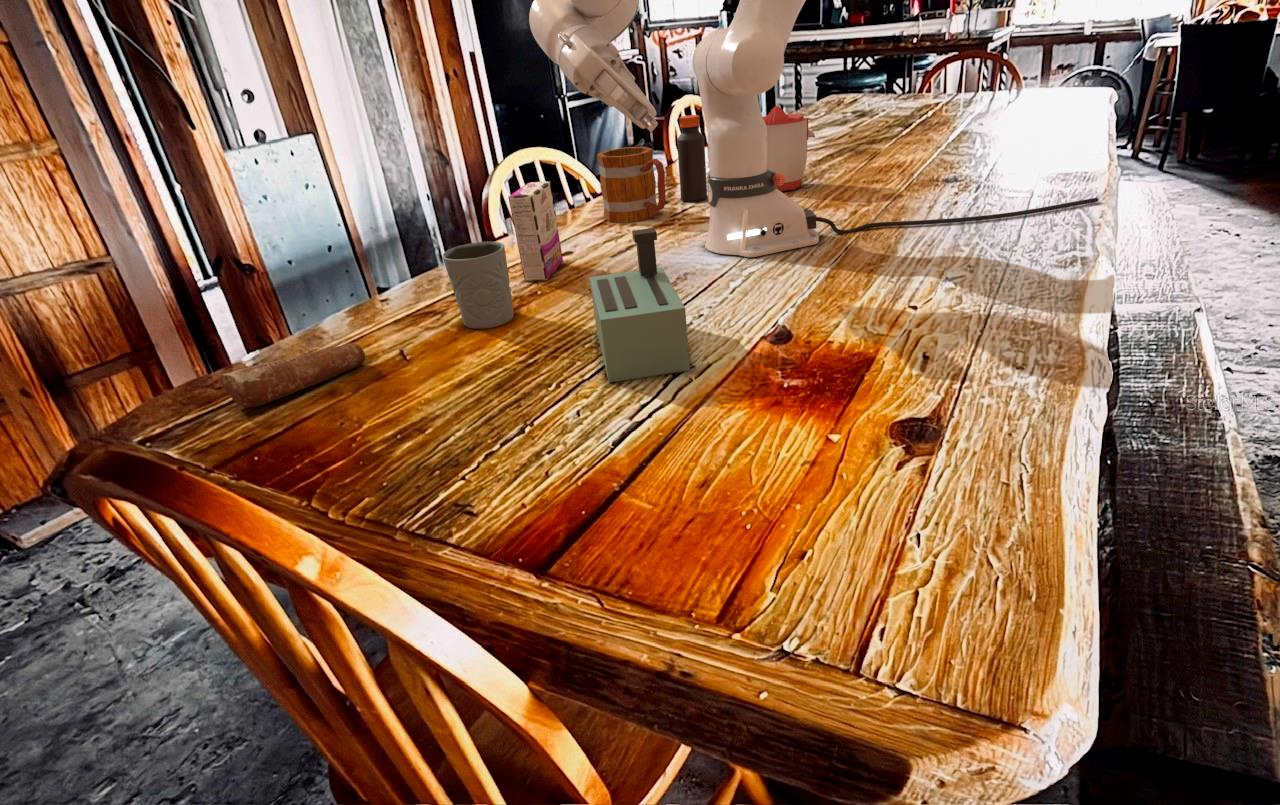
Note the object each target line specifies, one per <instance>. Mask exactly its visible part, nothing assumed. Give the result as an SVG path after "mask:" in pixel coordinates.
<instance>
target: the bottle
mask: <svg viewBox="0 0 1280 805" xmlns="http://www.w3.org/2000/svg"><path fill="white" fill-rule="evenodd" d="M700 121H701V120H700V115H699V114H690V115H689V114H688V115H682V116H680V117H679V129H680V130H681V133H680V134H679V136H678V137H677V140H676V142H677V143H676V145H677V146H676V147H677V159H678V160H677V161H678V171H679V172H678V173H679V174H678V175H679V188H680V199H681V201H682V202H686V203H695V202H701V201H705V200H706V199H708V187H707V183H708V182H707V166H706V147H705V146H706V145H705V136H704V134H702V133H701V132H700V129H699V128H700V126H701V122H700Z"/></svg>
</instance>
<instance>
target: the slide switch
mask: <svg viewBox="0 0 1280 805" xmlns="http://www.w3.org/2000/svg"><path fill="white" fill-rule="evenodd" d="M657 233H658V231H657V230H656V229H655V227H650V228H642V229H634V230H632V231H631V234H632V240H633V242H634V244H635V246H636V254H637V265H638V270H639V273H640V275H641V276H646V275H653V274H657V268H658V267H657V266H658V265H657V256H656V254H657V253H656V243H655V241H658V234H657Z"/></svg>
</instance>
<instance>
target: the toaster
mask: <svg viewBox="0 0 1280 805" xmlns="http://www.w3.org/2000/svg"><path fill="white" fill-rule="evenodd" d="M589 284H590V285H589V286H590V293H591V300H592V307H593V314H594V322H595V328H596V329H595V330H596V335H597V339H598V343H599V347H600V351H601V357H602V360H603V364H604V369H605V372H606V376H607V381H608V383H616V382H622V381H623V382H624V381H628V380H630V381H631V380H636V379H642V378H649V377H655V376H661V375H668V374H669V375H670V374H674V373H682V372H689V371H690V369H691V368H690V356H689V342H688V341H689V340H688V328H687V327H688V326H687V312H686V306H685V305H684V303H683V301H682V300H681V298H680V296H679V295H678V293H677V291H676V289H675V287H674V286H673V285H672V283H671V281H670V279H669V277H668V275H667V273H666V271H665V270H664V269H663V267H662V266H659V267H657V274H653V275H646V276H641V275H640V273H639V269H638V270H630V271H624V272H623V271H622V272H616V273H609V274H603V275H601V274H600V275H594V276H589Z"/></svg>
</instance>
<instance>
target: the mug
mask: <svg viewBox="0 0 1280 805" xmlns="http://www.w3.org/2000/svg"><path fill="white" fill-rule="evenodd" d="M596 159H597V163H598V169H599V177H600V178H599V181H600V182H599V184H600V192H601V197H602V204H603V218H604V220H606V221H608V222H609V223H625V224H626V223H635V222H641V221H645V220H646V221H647V220H650V219H652V218H654V217H655V216H656V215H659V212H660V211H662V210H663V209H665V207H666V206H665V204H666V202H667V201H666V200H667V198H666V172H665V168H664V164H663V162H662V161H660V160H659V159H658V158H654V149H653V148H650V147H647V146H625V147H618V148H614V149H606V150H604V151H602V152H600V153H596ZM654 166H655V169H656V172H657V181H656V176H655V169H654ZM656 182H657V183H656ZM656 184H657V186H656ZM656 188H657V189H656ZM656 190H657V191H656ZM656 192H657V193H658V194H657V193H656ZM656 194H657V195H656ZM657 196H658V203H657Z"/></svg>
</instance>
